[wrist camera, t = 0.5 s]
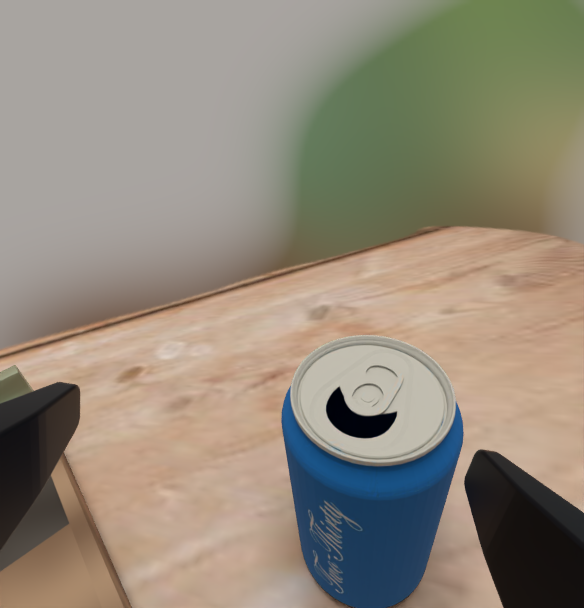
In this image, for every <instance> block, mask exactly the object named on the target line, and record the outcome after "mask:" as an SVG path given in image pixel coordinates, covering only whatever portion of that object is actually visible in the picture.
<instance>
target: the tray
mask: <svg viewBox="0 0 584 608" xmlns="http://www.w3.org/2000/svg"><path fill="white" fill-rule="evenodd" d="M30 392H33V389H32V388H31V386H30V385H29V383H28V382H27V381H26V379H25V378H24V376H23V375H22V374H21V372H20V371H19V369H18V368H17V367H16V365H14V366H12V367H10V368H8V369H6V370H4V371H2V372H0V403H3V402H5V401H8V400H11V399H14V398H16V397H19V396H22V395H24V394H27V393H30ZM0 608H132V607H131V605H130V603H129V600H128V598H127V596H126V594H125V591H124V589H123V587H122V584H121V582H120V580H119V578H118V575H117V573H116V571H115V569H114V566H113V564H112V562H111V559H110V557H109V555H108V553H107V550H106V548H105V546H104V543H103V541H102V539H101V537H100V534H99V532H98V530H97V528H96V525H95V523H94V521H93V518H92V516H91V514H90V512H89V509H88V507H87V505H86V502H85V500H84V498H83V496H82V493H81V491H80V489H79V486H78V484H77V482H76V480H75V477H74V475H73V473H72V471H71V468H70V466H69V464H68V461H67V459H66V457H65V455H64V452H63V454H62V456H61V457H60V459H59V461H58V463H57V465H56V467H55V468H54V470H53V472H52V474H51V476H50V477H49V479H48V481H47V483H46V484H45V486H44V488H43V490H42V491H41V493H40V494H39V496H38V497H37V499H36V500H35V502H34V503H33V505H32V506H31V508H30V509H29V511H28V512H27V513H26V515H25V516H24V518H23V519H22V521H21V522H20V524H19V525H18V526H17V528H16V529H15V531H14V532H13V534H12V535H11V536H10V538H9V539H8V541H7V542H6V544H5V545H4V546H3V548H2V549H1V551H0Z"/></svg>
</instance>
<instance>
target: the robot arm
mask: <svg viewBox="0 0 584 608" xmlns="http://www.w3.org/2000/svg"><path fill="white" fill-rule="evenodd" d="M79 419H80V389H79V387H78V386H77V385H75V384H69V383H63V382H57V383H54V384H52V385H49V386H46V387H44V388H41V389H38V390H35V391H33V392H30V393H27V394H24V395H22V396H19V397H16V398H14V399H11V400H8V401H5V402H3V403H0V551H1V549H2V548H3V546H4V545H5V544H6V542H7V541H8V539H9V538H10V536H11V535H12V534H13V532H14V531H15V529H16V528H17V526H18V525H19V524H20V522H21V521H22V519H23V518H24V516H25V515H26V513H27V512H28V511H29V509H30V508H31V506H32V505H33V503H34V502H35V500H36V499H37V497H38V496H39V494H40V493H41V491H42V490H43V488H44V486H45V484H46V483H47V481H48V479H49V477H50V476H51V474H52V472H53V470H54V468H55V467H56V465H57V463H58V461H59V459H60V457H61V456H62V454H63V452H64V450H65V448H66V447H67V445H68V443H69V441H70V439H71V438H72V436H73V434H74V432H75V430H76V428H77V426H78V423H79ZM464 484H465V490H466V494H467V497H468V501H469V505H470V508H471V512H472V515H473V519H474V523H475V526H476V530H477V533H478V537H479V541H480V544H481V547H482V551H483V554H484V557H485V560H486V563H487V565H488V568H489V571H490V573H491V576H492V579H493V581H494V584H495V587H496V589H497V592H498V594H499V597H500V600H501V602H502V605H503V608H584V513H583V512H582V511H581V510H579V509H578V508H576V507H575V506H573V505H572V504H571V503H569V502H568V501H566V500H565V499H563V498H562V497H561V496H559V495H558V494H556V493H555V492H553V491H552V490H551V489H549V488H548V487H546V486H545V485H543V484H542V483H541V482H539V481H538V480H536V479H535V478H533V477H532V476H531V475H529V474H528V473H526V472H525V471H523V470H522V469H521V468H519V467H518V466H516V465H515V464H514V463H512V462H511V461H509V460H508V459H506V458H505V457H504V456H502V455H501V454H499V453H497V452H494V451H488V450H478V451H477V452H476V453H475V455H474V457H473V459H472V462H471V464H470V466H469V469H468V471H467V473H466V476H465V481H464Z"/></svg>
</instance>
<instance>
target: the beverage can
mask: <svg viewBox="0 0 584 608" xmlns="http://www.w3.org/2000/svg"><path fill="white" fill-rule="evenodd" d="M282 429H283V436H284V442H285V448H286V455H287V461H288V467H289V473H290V480H291V486H292V492H293V498H294V505H295V511H296V517H297V523H298V530H299V536H300V542H301V548H302V552H303V556H304V559H305V562H306V564H307V567H308V569H309V570H310V572H311V574H312V576H313V577H314V578H315V580H316V581H317V583H318V584H319V585H320V586H321V587H322V588H323V589H324V590H325V591H326V592H327V593H328V594H330V595H331V596H332V597H334V598H335V599H337V600H338V601H340V602H342V603H344V604H346V605H349V606H352V607H355V608H387V607H390V606H393V605H395V604H397V603H399V602H401V601H402V600H404V599H405V598H406V597H408V596H409V595H410V594H411V593H412V592H413V591H414V589H415V588H416V587H417V585H418V584H419V582H420V581H421V579H422V577H423V574H424V572H425V569H426V565H427V562H428V559H429V555H430V552H431V549H432V545H433V542H434V539H435V535H436V532H437V528H438V525H439V522H440V518H441V515H442V512H443V508H444V505H445V502H446V498H447V495H448V491H449V488H450V485H451V481H452V478H453V475H454V471H455V468H456V465H457V461H458V458H459V455H460V451H461V447H462V444H463V422H462V417H461V413H460V410H459V407H458V405H457V402H456V399H455V393H454V389H453V386H452V384H451V381H450V379H449V378H448V376H447V374H446V373H445V371H444V370H443V369H442V368H441V366H440V365H439V364H438V363H437V362H436V361H435V360H434V359H433V358H431V357H430V356H429V355H427V354H426V353H425V352H423V351H421V350H420V349H418V348H416V347H414V346H412V345H410V344H408V343H405V342H403V341H400V340H396V339H393V338H389V337H384V336H375V335H358V336H350V337H344V338H340V339H337V340H334V341H331V342H329V343H326V344H324V345H322V346H321V347H319V348H317V349H316V350H314V351H313V352H312V353H310V354H309V355H308V356H307V357H306V358H305V359H304V360H303V361H302V363H301V364H300V365H299V367H298V368H297V370H296V372H295V374H294V377H293V379H292V383H291V386H290V388H289V390H288V392H287V394H286V397H285V400H284V404H283V409H282Z"/></svg>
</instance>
